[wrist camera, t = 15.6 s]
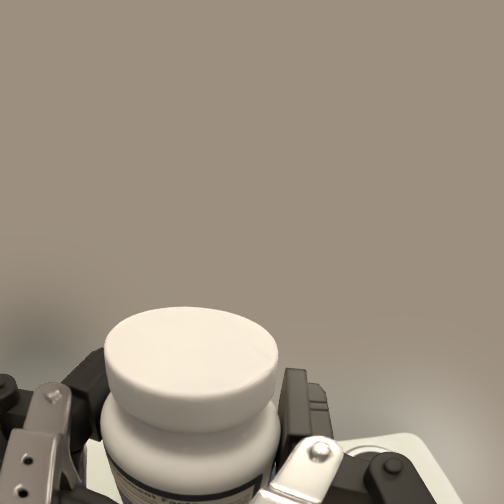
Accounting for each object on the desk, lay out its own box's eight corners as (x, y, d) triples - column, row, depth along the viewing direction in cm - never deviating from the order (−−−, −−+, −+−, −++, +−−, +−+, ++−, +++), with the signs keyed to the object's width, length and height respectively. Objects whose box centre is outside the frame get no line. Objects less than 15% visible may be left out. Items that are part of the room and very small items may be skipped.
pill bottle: (177, 459, 14) (175, 286, 12) (276, 504, 12) (325, 329, 10) (105, 521, 9) (44, 335, 7) (217, 588, 7) (236, 453, 4)
